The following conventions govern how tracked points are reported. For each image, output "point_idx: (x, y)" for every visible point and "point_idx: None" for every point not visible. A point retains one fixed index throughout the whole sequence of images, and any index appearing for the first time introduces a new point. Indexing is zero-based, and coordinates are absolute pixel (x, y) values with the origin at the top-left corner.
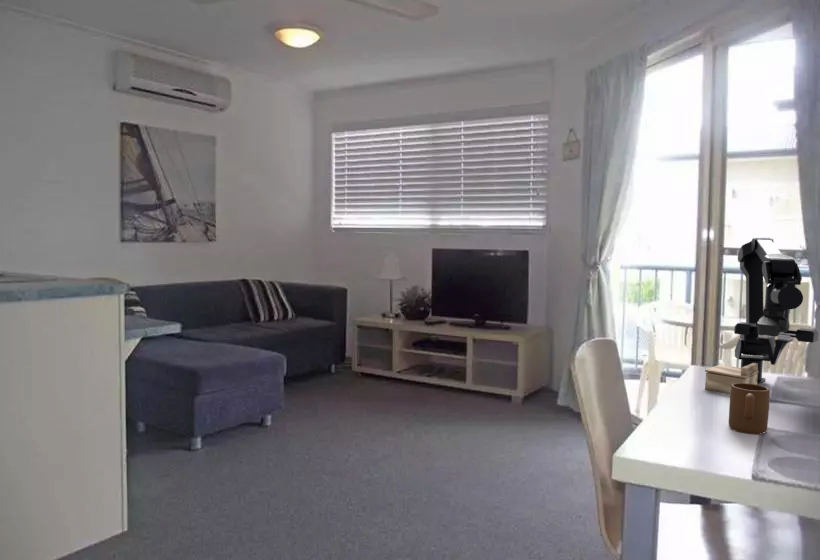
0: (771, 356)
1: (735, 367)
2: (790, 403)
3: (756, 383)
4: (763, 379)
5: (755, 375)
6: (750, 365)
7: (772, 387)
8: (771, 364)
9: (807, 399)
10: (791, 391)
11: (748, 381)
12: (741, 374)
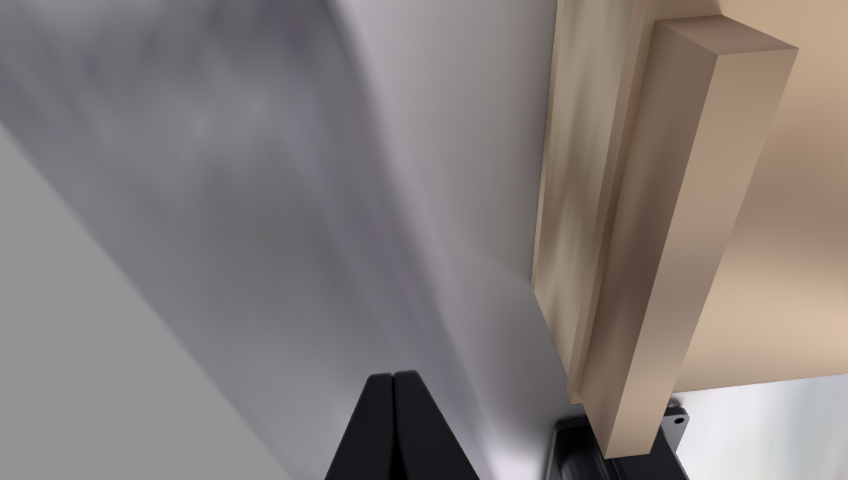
0: (419, 475)
1: (768, 370)
2: (144, 31)
3: (545, 304)
4: (550, 476)
5: (573, 327)
6: (666, 324)
7: (471, 399)
8: (411, 371)
9: (176, 286)
10: (356, 394)
11: (593, 123)
12: (720, 21)
